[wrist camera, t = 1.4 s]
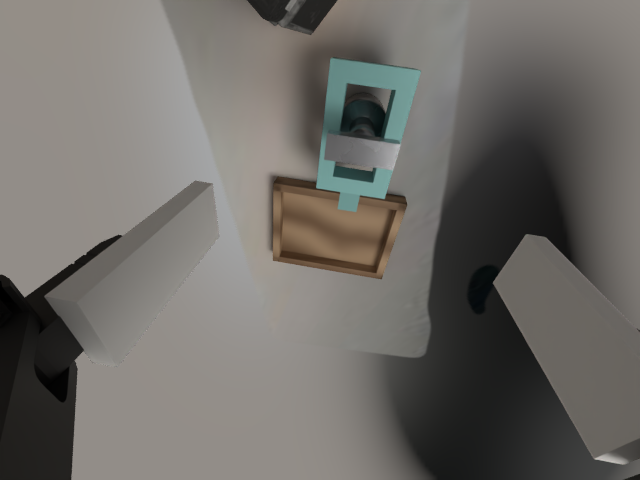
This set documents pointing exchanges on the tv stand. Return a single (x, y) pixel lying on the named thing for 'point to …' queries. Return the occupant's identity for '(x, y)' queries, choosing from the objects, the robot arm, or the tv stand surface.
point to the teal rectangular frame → (399, 105)
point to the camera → (294, 13)
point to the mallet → (362, 135)
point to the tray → (333, 229)
